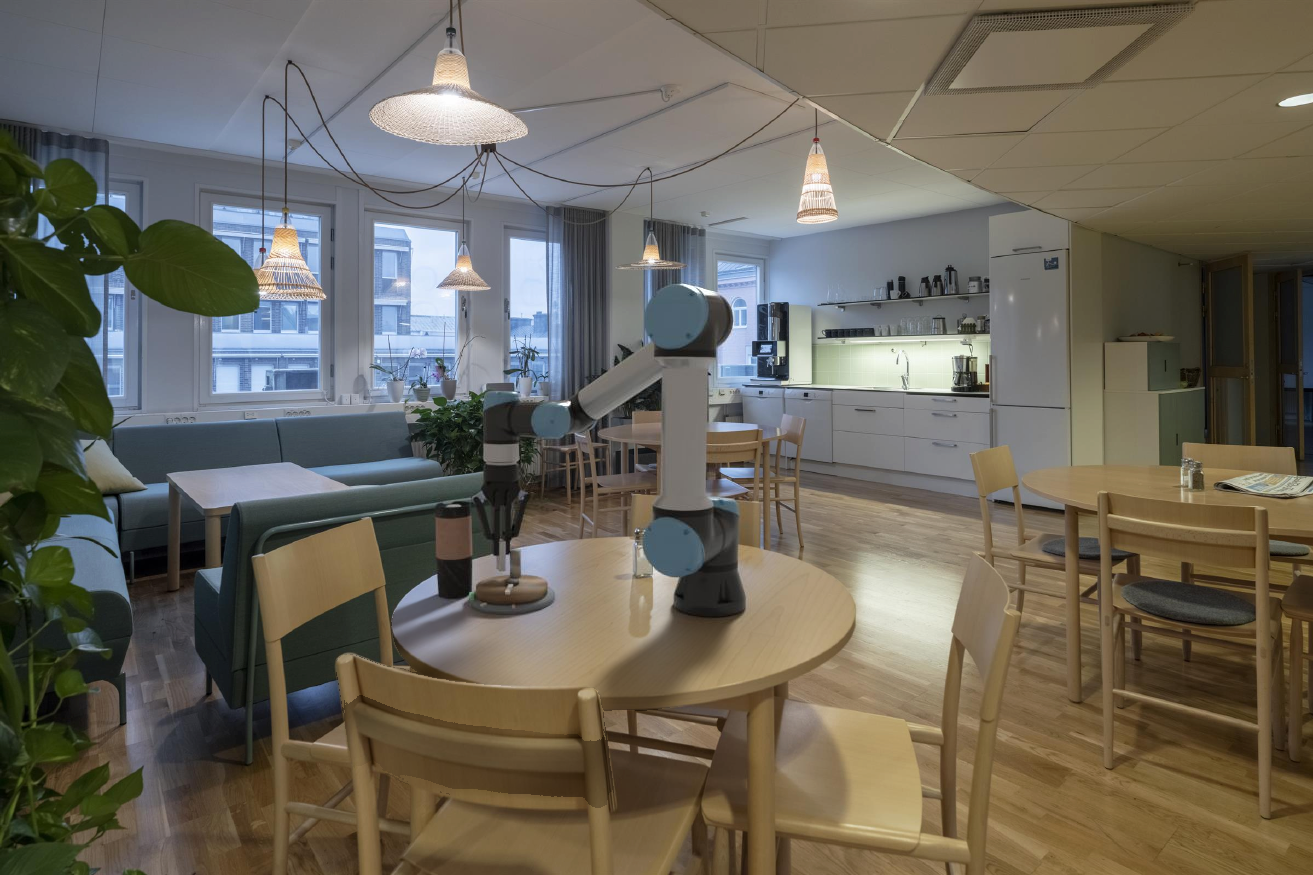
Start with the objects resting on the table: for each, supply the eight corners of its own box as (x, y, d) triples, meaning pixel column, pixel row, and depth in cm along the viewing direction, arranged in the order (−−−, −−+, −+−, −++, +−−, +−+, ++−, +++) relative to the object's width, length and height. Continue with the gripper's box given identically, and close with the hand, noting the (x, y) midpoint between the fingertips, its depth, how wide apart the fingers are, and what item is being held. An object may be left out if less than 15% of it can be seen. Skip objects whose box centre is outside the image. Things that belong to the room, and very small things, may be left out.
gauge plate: (569, 593, 162) (569, 585, 162) (525, 619, 145) (525, 610, 145) (500, 584, 168) (500, 576, 168) (450, 607, 152) (450, 599, 152)
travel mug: (463, 600, 157) (461, 508, 155) (430, 598, 158) (428, 506, 156) (479, 589, 164) (477, 501, 162) (447, 587, 166) (445, 500, 164)
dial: (482, 583, 164) (482, 548, 163) (550, 582, 164) (550, 547, 164) (469, 605, 149) (468, 566, 148) (544, 604, 150) (543, 565, 149)
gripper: (524, 459, 165) (523, 562, 167) (467, 461, 159) (467, 568, 161) (535, 463, 158) (534, 570, 160) (475, 465, 152) (476, 577, 154)
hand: (500, 569), depth 160 cm, fingers closed
